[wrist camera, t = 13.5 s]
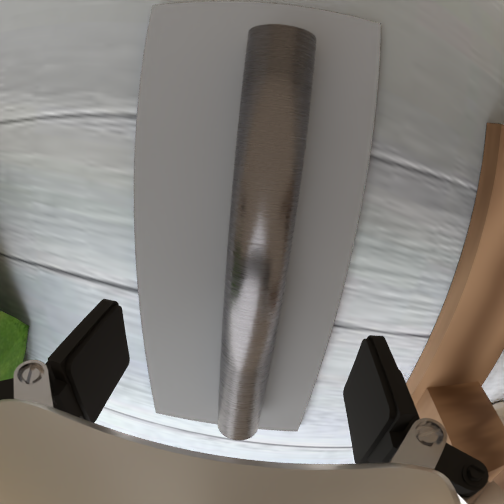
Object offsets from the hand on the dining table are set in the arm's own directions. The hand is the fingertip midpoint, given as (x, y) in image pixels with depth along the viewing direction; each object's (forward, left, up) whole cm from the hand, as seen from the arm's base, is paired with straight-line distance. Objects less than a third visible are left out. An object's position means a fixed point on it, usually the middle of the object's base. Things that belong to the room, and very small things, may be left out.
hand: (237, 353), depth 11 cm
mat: (+1, 0, -7) cm, 7 cm away
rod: (0, 0, -6) cm, 6 cm away
